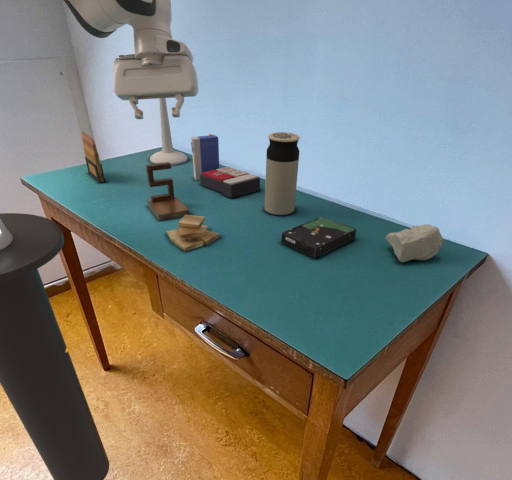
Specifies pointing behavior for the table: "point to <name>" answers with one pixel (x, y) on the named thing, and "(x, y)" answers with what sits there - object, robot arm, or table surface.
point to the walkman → (204, 154)
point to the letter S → (164, 196)
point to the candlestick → (167, 141)
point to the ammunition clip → (92, 158)
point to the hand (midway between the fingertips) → (157, 117)
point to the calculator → (230, 181)
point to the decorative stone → (416, 242)
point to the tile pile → (191, 233)
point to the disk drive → (318, 236)
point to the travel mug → (281, 173)
